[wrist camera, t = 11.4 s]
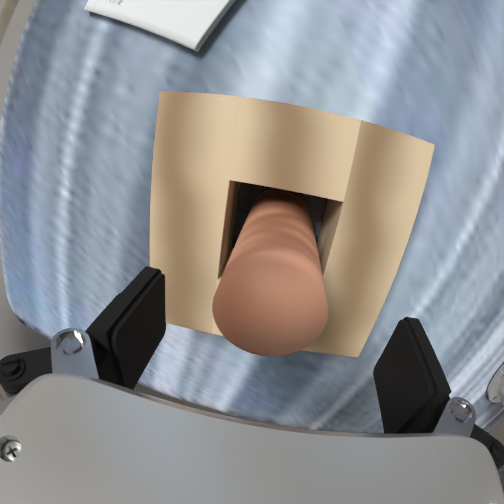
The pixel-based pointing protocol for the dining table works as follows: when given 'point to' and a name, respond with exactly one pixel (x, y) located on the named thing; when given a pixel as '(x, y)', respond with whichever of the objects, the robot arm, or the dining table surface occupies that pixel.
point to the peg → (273, 280)
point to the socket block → (288, 178)
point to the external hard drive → (167, 17)
